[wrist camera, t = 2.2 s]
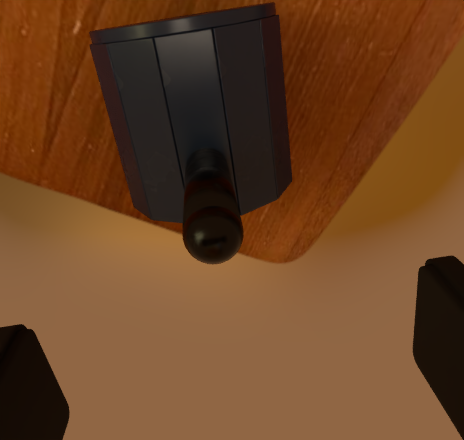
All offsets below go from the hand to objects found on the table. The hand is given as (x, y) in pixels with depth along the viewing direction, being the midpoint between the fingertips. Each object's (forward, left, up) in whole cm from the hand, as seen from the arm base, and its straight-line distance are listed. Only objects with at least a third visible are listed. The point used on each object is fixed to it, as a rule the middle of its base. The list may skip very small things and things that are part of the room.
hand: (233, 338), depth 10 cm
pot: (0, +2, -23) cm, 23 cm away
